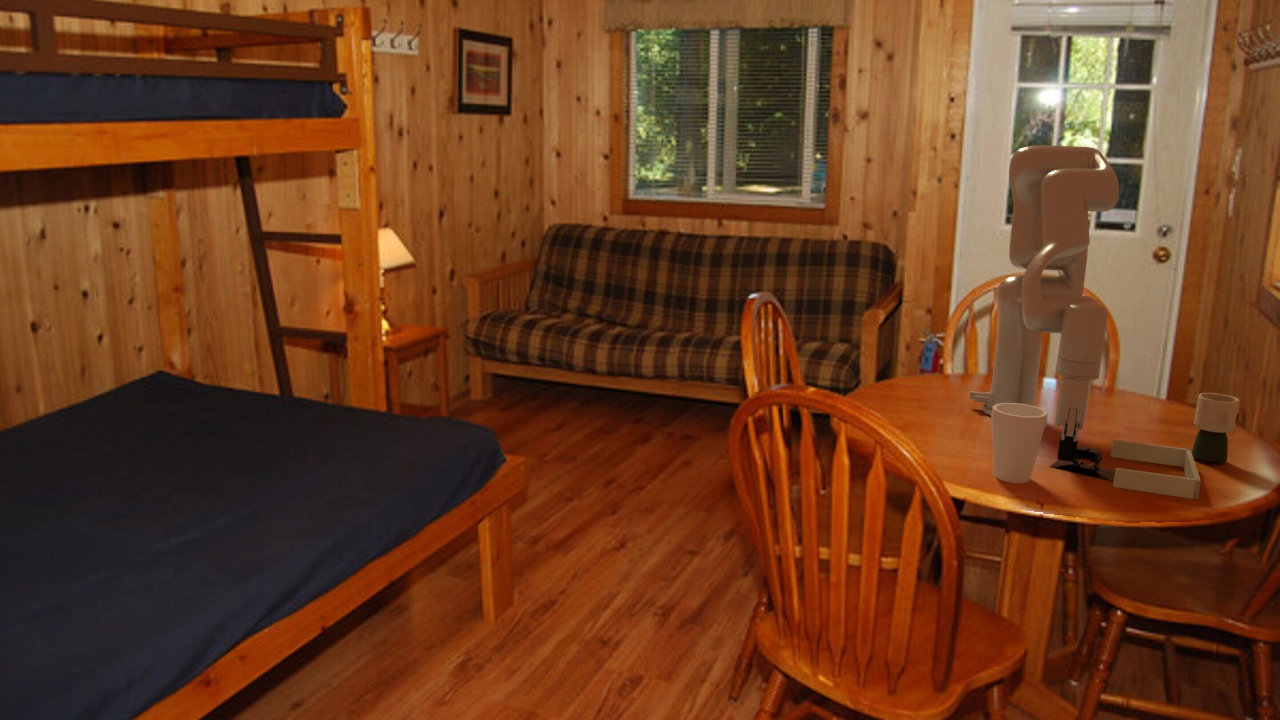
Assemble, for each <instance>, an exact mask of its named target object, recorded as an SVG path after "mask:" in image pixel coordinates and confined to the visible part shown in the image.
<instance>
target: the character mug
mask: <svg viewBox="0 0 1280 720" xmlns="http://www.w3.org/2000/svg"><path fill="white" fill-rule="evenodd" d="M1240 401H1241V400H1240V398H1238V397H1236V396H1233V395H1230V394H1229V395H1228V394H1222V393H1217V392H1202V393H1199V394H1198V396H1197V401H1196V402H1197V403H1196V406H1195V407H1196V408H1195V413H1194V414H1195V415H1194V418H1193V419H1194V420H1193V424H1194V427H1196V428H1199V430H1198V431H1197V433H1196V437H1195V440H1194V443H1193V446H1192V448H1191V449H1192V450H1191V453H1192V456H1193V459H1198V460H1201V461H1206V462H1207V461H1209V462H1210V463H1211V464H1214V463H1215V462H1216V463H1217V462H1218V463H1226V462H1228V450H1229V449H1228V448H1229V447H1228V446H1229V445H1228V444H1229V441H1228V439H1229V438H1228V435H1227V433H1231V432H1233V431H1234V430H1235V429H1236V427H1237V425H1236V418H1237V415H1238V414H1239V411H1240V409H1239V407H1240Z"/></svg>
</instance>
